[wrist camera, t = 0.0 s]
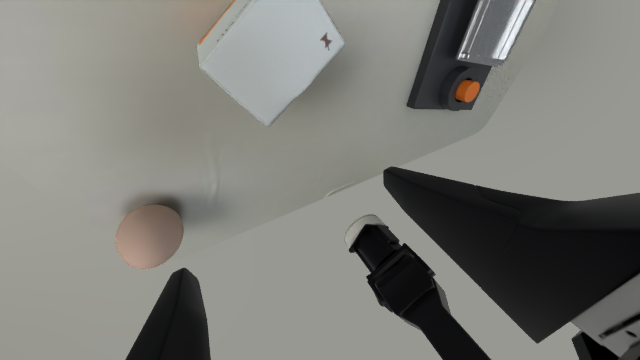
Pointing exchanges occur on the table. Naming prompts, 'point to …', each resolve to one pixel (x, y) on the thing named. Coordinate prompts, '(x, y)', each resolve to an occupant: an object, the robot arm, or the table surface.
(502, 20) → the brushed steel platform
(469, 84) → the button
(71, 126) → the table surface
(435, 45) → the scale
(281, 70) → the cosmetic box
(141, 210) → the egg
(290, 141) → the table surface
